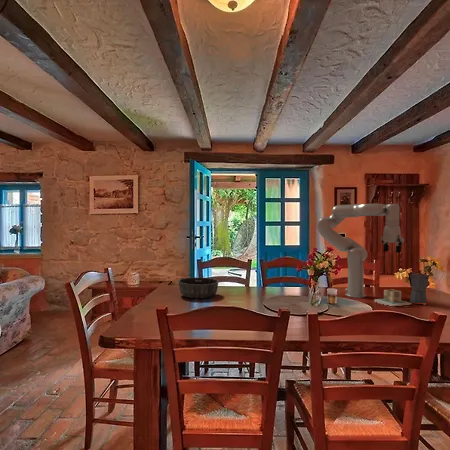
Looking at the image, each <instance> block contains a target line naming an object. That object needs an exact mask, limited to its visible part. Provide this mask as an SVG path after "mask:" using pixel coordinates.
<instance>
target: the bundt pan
mask: <svg viewBox="0 0 450 450" xmlns="http://www.w3.org/2000/svg"><path fill="white" fill-rule="evenodd" d="M219 283H220V281H219V280H218V279H215V278H211V277H202V276H201V277H200V276H199V277H196V276H195V277H192V276H191V277H185V278H180V279H178V286H179V292H180V294H181V295H182V296H184V297H186V298H190V299H193V298H195V299H205V298H206V299H208V298H211V297H214V295H215V294H217V292H218V286H219Z"/></svg>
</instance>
